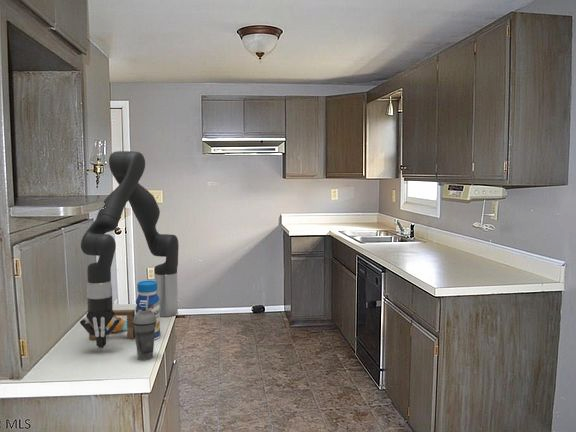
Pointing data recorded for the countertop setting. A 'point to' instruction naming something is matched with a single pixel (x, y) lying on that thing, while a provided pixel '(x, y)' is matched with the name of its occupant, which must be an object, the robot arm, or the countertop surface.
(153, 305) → the beverage bottle
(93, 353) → the countertop surface
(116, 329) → the ball
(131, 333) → the bridge
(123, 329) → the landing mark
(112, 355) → the countertop surface
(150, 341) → the beverage cup
